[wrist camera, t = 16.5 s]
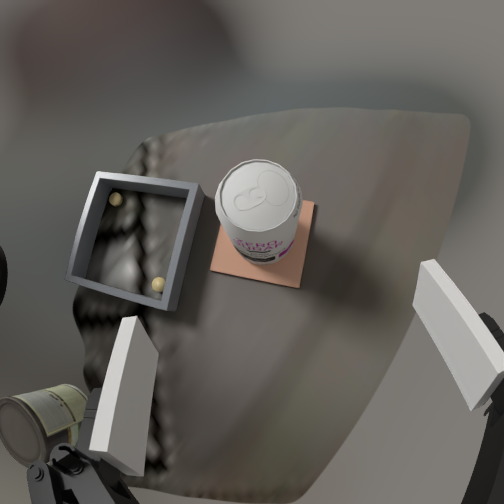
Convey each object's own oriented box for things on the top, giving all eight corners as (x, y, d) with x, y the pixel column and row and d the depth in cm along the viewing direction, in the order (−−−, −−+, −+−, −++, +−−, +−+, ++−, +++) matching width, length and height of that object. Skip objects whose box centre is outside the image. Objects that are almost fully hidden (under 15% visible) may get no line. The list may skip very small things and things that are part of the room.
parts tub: (79, 283, 44) (64, 279, 40) (108, 181, 47) (96, 171, 43) (176, 311, 42) (166, 310, 38) (204, 194, 45) (198, 183, 41)
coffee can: (105, 443, 38) (55, 475, 24) (59, 438, 38) (7, 461, 25) (90, 383, 40) (31, 399, 27) (44, 382, 41) (-13, 393, 27)
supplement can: (277, 197, 43) (277, 141, 29) (304, 250, 42) (320, 215, 27) (223, 221, 43) (199, 175, 28) (248, 276, 41) (234, 254, 27)
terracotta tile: (210, 270, 42) (209, 269, 42) (230, 188, 45) (230, 187, 44) (298, 288, 41) (299, 288, 41) (313, 203, 43) (314, 202, 43)
